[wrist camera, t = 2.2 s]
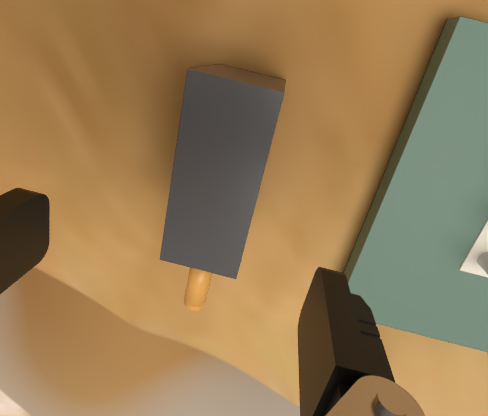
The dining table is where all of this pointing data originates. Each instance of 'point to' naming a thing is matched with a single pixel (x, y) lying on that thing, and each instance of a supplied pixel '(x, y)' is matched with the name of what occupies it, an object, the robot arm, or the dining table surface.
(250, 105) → the block
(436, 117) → the header board
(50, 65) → the dining table surface
